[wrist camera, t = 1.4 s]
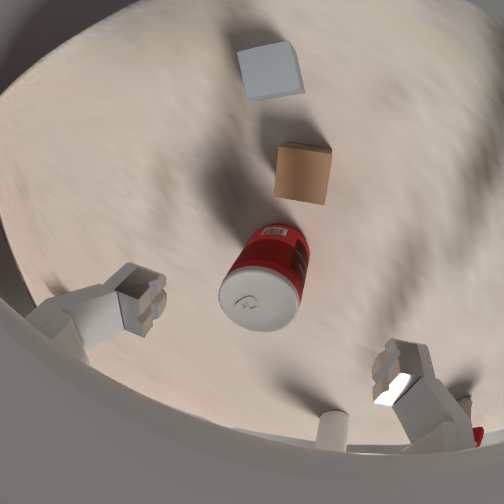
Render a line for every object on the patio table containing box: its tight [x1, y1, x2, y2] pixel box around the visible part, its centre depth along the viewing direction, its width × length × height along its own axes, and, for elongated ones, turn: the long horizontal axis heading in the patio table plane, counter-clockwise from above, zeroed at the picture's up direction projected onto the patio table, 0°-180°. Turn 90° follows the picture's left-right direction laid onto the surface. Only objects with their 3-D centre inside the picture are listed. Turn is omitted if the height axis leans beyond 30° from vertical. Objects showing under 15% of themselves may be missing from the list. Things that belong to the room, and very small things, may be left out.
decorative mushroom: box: [457, 397, 484, 448], centre depth 34 cm, size 10×9×15 cm
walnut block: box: [274, 142, 332, 205], centre depth 27 cm, size 5×5×5 cm
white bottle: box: [315, 411, 349, 452], centre depth 40 cm, size 7×7×25 cm
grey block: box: [237, 41, 305, 101], centre depth 22 cm, size 5×5×5 cm
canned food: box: [218, 224, 310, 332], centre depth 30 cm, size 8×8×11 cm
